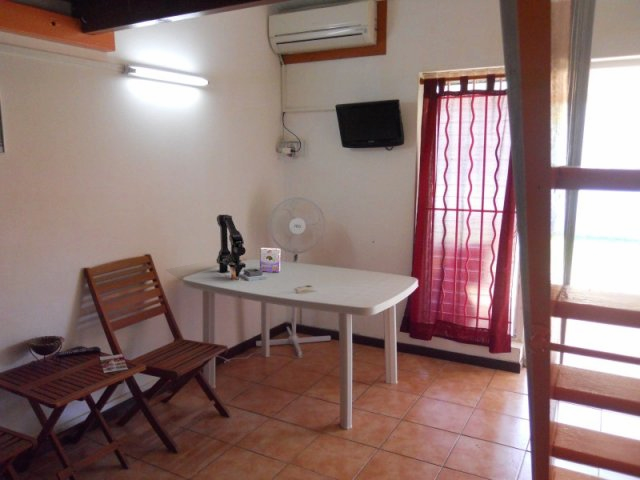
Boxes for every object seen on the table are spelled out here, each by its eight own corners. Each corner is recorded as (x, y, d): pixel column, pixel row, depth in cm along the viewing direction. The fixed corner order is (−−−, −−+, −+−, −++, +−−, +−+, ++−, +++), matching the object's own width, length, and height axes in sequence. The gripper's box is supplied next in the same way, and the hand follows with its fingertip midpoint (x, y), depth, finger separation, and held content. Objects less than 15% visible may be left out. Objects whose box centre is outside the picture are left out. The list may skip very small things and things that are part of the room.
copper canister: (229, 278, 327) (230, 266, 326) (236, 277, 330) (237, 265, 328) (233, 280, 323) (233, 268, 322) (240, 279, 326) (240, 267, 324)
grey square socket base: (237, 275, 336) (237, 268, 335) (254, 273, 344) (254, 266, 343) (248, 280, 323) (248, 273, 322) (266, 278, 330) (266, 271, 329)
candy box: (280, 271, 354) (281, 248, 352) (278, 272, 349) (279, 249, 346) (261, 269, 356) (261, 247, 353) (259, 271, 350) (260, 248, 347)
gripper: (218, 250, 326) (217, 274, 329) (230, 256, 311) (229, 280, 314) (233, 249, 333) (233, 272, 335) (246, 254, 318) (245, 278, 320)
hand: (235, 275), depth 326 cm, fingers closed on copper canister, 5 cm apart
